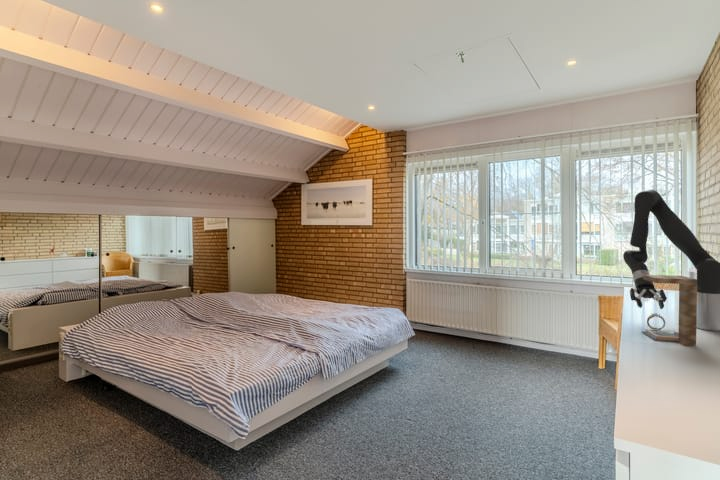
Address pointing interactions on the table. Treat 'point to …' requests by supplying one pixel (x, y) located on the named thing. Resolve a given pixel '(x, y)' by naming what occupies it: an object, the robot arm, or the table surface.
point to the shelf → (683, 305)
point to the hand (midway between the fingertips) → (651, 307)
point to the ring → (656, 316)
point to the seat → (662, 336)
